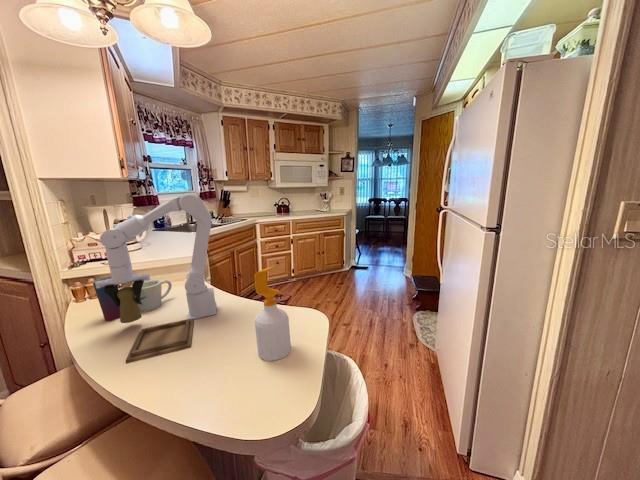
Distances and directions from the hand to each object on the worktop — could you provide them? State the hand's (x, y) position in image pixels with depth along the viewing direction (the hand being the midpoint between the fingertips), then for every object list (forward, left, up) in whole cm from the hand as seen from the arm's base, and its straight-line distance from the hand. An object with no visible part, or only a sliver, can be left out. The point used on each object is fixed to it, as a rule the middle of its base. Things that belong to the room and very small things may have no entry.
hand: (129, 303), depth 89 cm
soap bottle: (-41, +35, -9) cm, 55 cm away
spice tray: (-11, +14, -9) cm, 20 cm away
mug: (-4, -17, -9) cm, 20 cm away
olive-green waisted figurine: (0, 0, -6) cm, 6 cm away
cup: (+9, -12, -9) cm, 17 cm away
